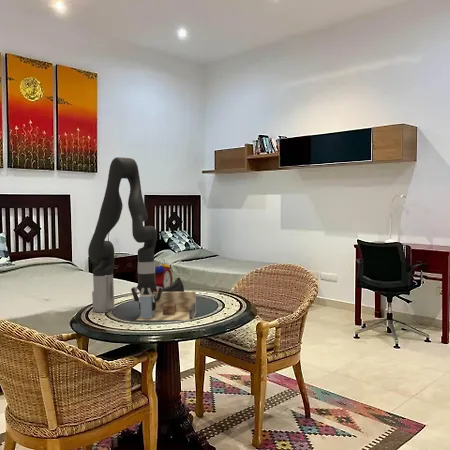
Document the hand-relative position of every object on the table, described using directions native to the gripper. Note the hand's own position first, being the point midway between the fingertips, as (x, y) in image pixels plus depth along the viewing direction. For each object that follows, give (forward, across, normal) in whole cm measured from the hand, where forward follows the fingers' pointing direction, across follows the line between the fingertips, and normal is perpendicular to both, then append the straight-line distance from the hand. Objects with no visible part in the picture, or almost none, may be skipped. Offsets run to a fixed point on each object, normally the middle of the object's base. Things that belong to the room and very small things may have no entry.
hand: (147, 310), depth 195 cm
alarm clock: (+4, -5, +52) cm, 53 cm away
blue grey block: (+3, 0, 0) cm, 3 cm away
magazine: (+4, +5, +30) cm, 31 cm away
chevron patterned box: (+4, +8, +2) cm, 9 cm away
